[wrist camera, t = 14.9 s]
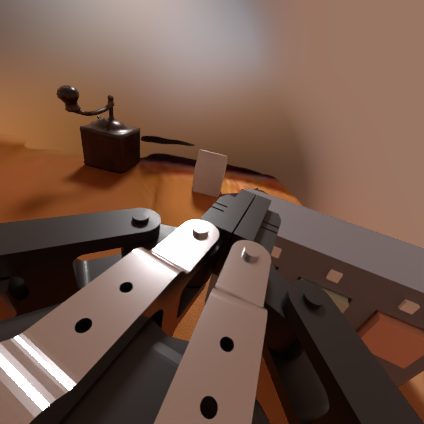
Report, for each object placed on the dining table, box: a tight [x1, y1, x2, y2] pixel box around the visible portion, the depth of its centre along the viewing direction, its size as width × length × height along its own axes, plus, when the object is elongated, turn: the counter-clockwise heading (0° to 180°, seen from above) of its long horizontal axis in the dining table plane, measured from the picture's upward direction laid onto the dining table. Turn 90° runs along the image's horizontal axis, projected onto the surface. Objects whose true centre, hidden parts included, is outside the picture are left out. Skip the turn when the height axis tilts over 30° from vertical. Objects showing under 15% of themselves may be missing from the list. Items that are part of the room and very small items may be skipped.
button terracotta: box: [356, 310, 424, 368], centre depth 22 cm, size 4×4×4 cm
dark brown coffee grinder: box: [57, 85, 140, 173], centre depth 53 cm, size 16×11×18 cm
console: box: [205, 188, 424, 387], centre depth 26 cm, size 22×8×14 cm, turn 67°
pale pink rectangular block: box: [192, 149, 228, 198], centre depth 53 cm, size 4×7×10 cm, turn 79°
